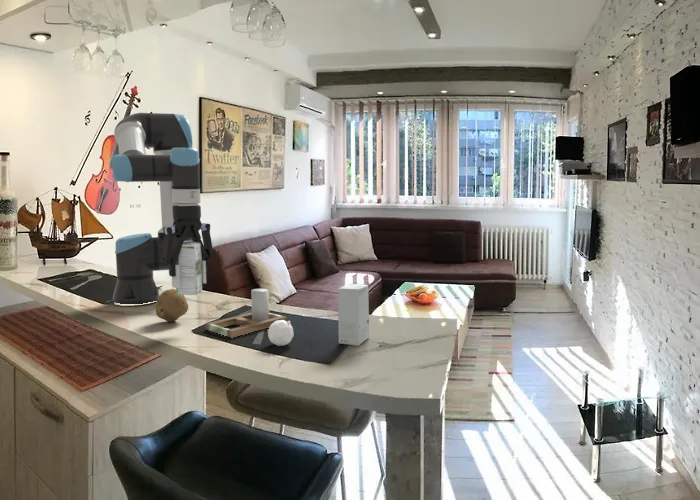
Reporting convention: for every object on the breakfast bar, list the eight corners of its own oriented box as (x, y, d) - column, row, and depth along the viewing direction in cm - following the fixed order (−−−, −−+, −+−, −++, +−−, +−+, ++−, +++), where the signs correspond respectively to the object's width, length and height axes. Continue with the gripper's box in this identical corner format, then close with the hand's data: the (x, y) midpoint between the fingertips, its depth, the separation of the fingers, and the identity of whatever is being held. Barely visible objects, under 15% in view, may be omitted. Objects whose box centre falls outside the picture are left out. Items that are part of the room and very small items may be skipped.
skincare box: (358, 346, 141) (358, 289, 139) (337, 344, 143) (336, 287, 141) (369, 337, 149) (370, 283, 147) (348, 335, 151) (349, 282, 149)
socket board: (205, 330, 155) (205, 323, 155) (260, 316, 170) (260, 310, 170) (231, 338, 148) (231, 331, 147) (286, 323, 163) (286, 316, 162)
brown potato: (195, 319, 167) (193, 287, 166) (177, 327, 159) (176, 293, 157) (169, 317, 170) (168, 285, 169) (151, 324, 162) (149, 291, 160)
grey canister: (248, 323, 162) (247, 290, 161) (261, 320, 166) (260, 287, 165) (259, 326, 159) (258, 292, 158) (272, 323, 163) (272, 290, 162)
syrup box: (182, 290, 159) (180, 240, 156) (203, 290, 158) (201, 240, 156) (176, 295, 153) (173, 243, 151) (197, 295, 153) (195, 243, 150)
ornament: (277, 339, 147) (294, 317, 146) (286, 354, 142) (303, 332, 141) (259, 331, 143) (276, 309, 142) (267, 347, 138) (285, 324, 137)
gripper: (159, 207, 141) (163, 293, 145) (225, 203, 157) (227, 281, 161) (144, 205, 146) (148, 289, 150) (210, 201, 162) (212, 277, 165)
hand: (189, 285), depth 155 cm, fingers closed on syrup box, 8 cm apart
